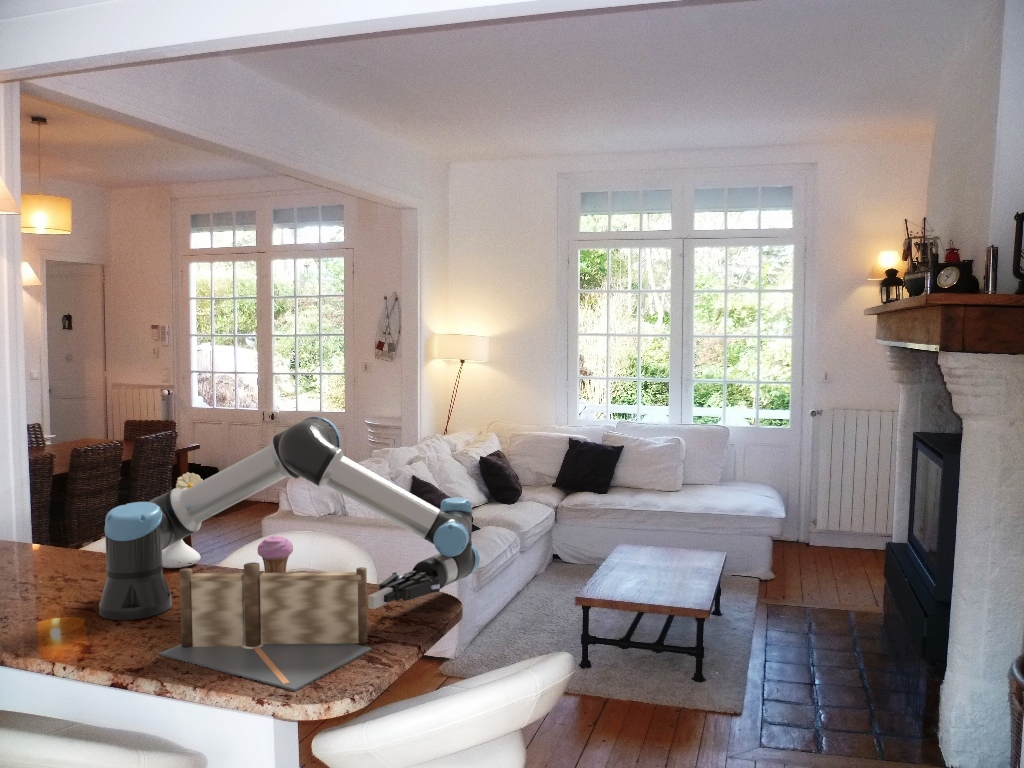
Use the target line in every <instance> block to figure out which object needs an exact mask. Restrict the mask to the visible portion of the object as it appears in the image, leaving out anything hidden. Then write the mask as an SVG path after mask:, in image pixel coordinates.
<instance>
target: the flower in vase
mask: <svg viewBox="0 0 1024 768" xmlns="http://www.w3.org/2000/svg"><path fill="white" fill-rule="evenodd" d="M201 481H203V478H201V476H200V475H199V474H196V473H194V472H191V473H190V472H188V471H187V472H186V473H183V474H182V475H181V476H179V477H177V480H176V484H175V488H180V489H183V490H186V489H188V488H190V487H192V486H194V485H196V484H198V483H199V482H201ZM183 539H184V538H183ZM183 539H181V540H179V541H177V542H175V543H173V544H172V545H170V546H168V547H167V548H165V549H164V550H162V565H163V568H165V569H177V568H179V569H181V568H187V567H189V566H190V567H191V566H192V565H194V564H197V563H198V562H199V561H201V555H200V553H199V552H198V551H197V550H195V549H194V548H192V547H191V546H190V545H188V544H186V542H185V541H184V540H183ZM179 562H180V563H179ZM188 563H192V564H188Z"/></svg>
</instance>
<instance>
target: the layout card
mask: <svg viewBox="0 0 1024 768" xmlns="http://www.w3.org/2000/svg"><path fill="white" fill-rule="evenodd" d="M372 650H373V648H372V647H369V646H365V645H362V644H361V645H360V644H358V643H324V644H261V645H259V646H256V647H247V646H246V644H244V645H243V646H213V647H193V646H192V647H188V648H184V647H182V643H180V644H178V645H176V646H175V645H174V646H173V647H171V648H168V649H166V650H163V651H161V652H159V653H158V655H159V656H162V657H165V658H170V659H174V660H176V659H177V660H178V661H180V660H181V662H184V661H185V662H184V663H188V662H189V663H188V664H191V663H192V664H191V665H195V664H197V665H196V666H199V665H200V667H203V666H204V667H203V668H206V667H208V668H207V669H210V668H211V670H214V671H218V672H222V673H226V674H230V675H233V676H236V675H237V677H240V676H241V678H245V679H248V680H251V679H252V680H251V681H255V680H257V681H256V682H259V681H260V682H259V683H264V684H267V685H270V686H274V687H279V688H282V689H286V690H290V691H293V692H296V691H299V690H300V689H302V688H304V687H306V686H307V685H310V684H311V683H313V682H315V681H317V680H319V679H320V677H321V678H322V676H323V677H324V676H326V675H328V674H330V673H332V672H334V671H335V669H336V670H337V669H340V668H341V667H342V666H345V665H347V664H348V663H351V662H353V661H354V660H356V659H358V658H359V657H362V656H364V655H365V654H367V653H369V652H371V651H372ZM333 670H334V671H333ZM331 671H332V672H331ZM329 672H330V673H329ZM327 673H328V674H327ZM325 674H326V675H325ZM316 679H317V680H316ZM314 680H315V681H314ZM309 683H310V684H309Z"/></svg>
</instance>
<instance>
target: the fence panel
mask: <svg viewBox="0 0 1024 768" xmlns="http://www.w3.org/2000/svg"><path fill="white" fill-rule="evenodd" d="M367 570H368V569H367V567H365V566H361V567H356V571H349V572H348V571H346V572H344V571H339V572H338V571H337V572H332V571H330V572H327V571H325V572H286V573H265V572H262V573H260V614H261V644H324V643H352V644H359V645H360V644H361V645H362V644H366V643H367V642H368V598H367V597H368V593H367V592H368V587H367V586H368V585H367V584H368V582H367V581H368V580H367V579H368V578H367V577H368V576H367Z"/></svg>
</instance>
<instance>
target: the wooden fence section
mask: <svg viewBox="0 0 1024 768" xmlns="http://www.w3.org/2000/svg"><path fill="white" fill-rule="evenodd" d="M260 575H261V573H260V563H259V562H255V561H253V562H247V563H244V564H243V572H223V573H222V572H215V573H214V572H207V573H205V572H203V573H200V572H198V573H197V572H196V573H195V572H194V573H193V568H191V567H190V568H189V567H184V568H180V569H179V597H180V598H179V599H180V604H179V605H180V635H181V636H180V638H181V639H180V640H181V641H180V644H182V647H184V648H188V647H192V646H193V647H213V646H243V645H244V644H246V646H247V647H256V646H259V645H261V601H260Z"/></svg>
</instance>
